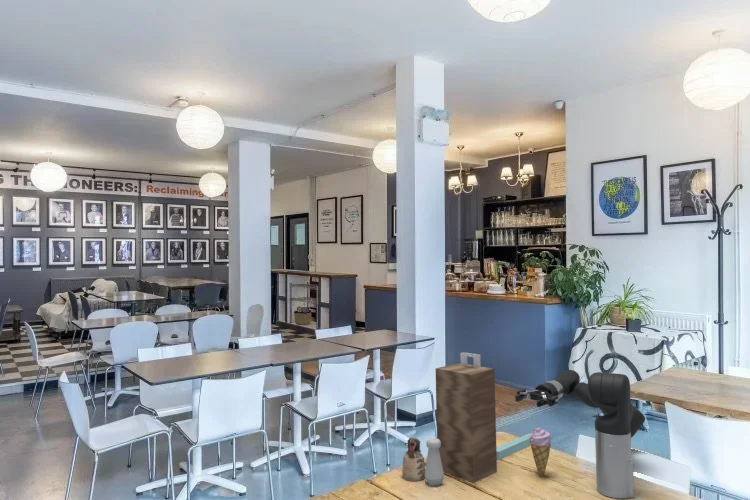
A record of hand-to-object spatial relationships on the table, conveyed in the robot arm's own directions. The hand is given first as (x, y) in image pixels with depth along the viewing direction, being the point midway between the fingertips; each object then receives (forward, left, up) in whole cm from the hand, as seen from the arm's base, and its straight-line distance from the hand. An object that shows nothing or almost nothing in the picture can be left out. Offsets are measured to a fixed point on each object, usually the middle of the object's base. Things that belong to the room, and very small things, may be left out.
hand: (526, 401), depth 185 cm
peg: (+4, +7, -15) cm, 18 cm away
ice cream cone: (-4, +28, -15) cm, 32 cm away
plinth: (+18, +30, -15) cm, 38 cm away
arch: (+16, +28, +17) cm, 36 cm away
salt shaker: (+26, +42, -15) cm, 52 cm away
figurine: (+33, +39, -15) cm, 53 cm away
